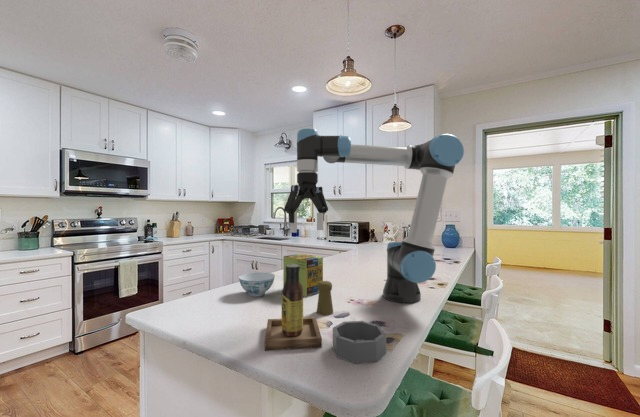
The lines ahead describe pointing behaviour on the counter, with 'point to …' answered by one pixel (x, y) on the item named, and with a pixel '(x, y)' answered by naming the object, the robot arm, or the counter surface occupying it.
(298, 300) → the sauce bottle
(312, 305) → the counter surface
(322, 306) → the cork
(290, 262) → the protein box
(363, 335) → the holder cup
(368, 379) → the counter surface
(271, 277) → the chinaware
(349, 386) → the counter surface
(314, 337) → the tray
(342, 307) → the counter surface
